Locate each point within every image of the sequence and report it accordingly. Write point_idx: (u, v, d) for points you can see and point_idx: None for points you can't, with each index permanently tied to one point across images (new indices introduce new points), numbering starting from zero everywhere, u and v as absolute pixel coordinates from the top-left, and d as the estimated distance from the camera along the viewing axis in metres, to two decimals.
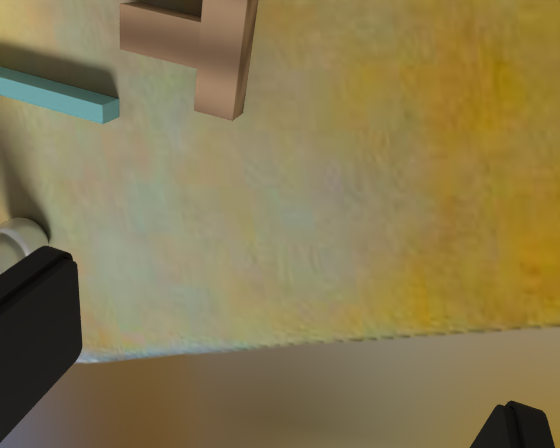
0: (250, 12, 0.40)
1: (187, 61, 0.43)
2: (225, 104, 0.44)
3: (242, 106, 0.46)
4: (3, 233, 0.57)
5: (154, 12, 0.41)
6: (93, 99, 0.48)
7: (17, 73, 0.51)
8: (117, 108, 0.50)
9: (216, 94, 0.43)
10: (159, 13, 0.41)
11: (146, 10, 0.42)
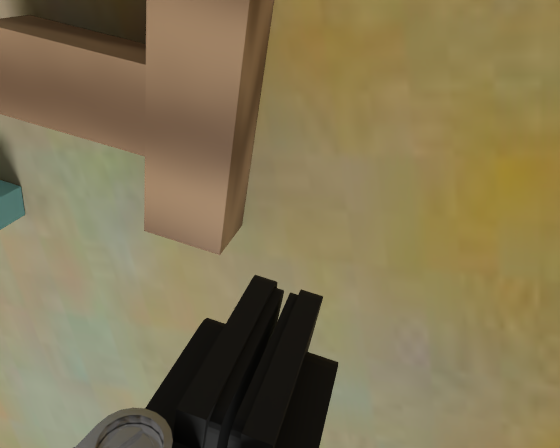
0: (255, 42, 0.18)
1: (124, 142, 0.20)
2: (205, 225, 0.21)
3: (240, 216, 0.24)
4: None
5: (48, 41, 0.19)
6: None
7: None
8: (19, 202, 0.28)
9: (185, 206, 0.21)
10: (58, 43, 0.19)
11: (31, 37, 0.19)
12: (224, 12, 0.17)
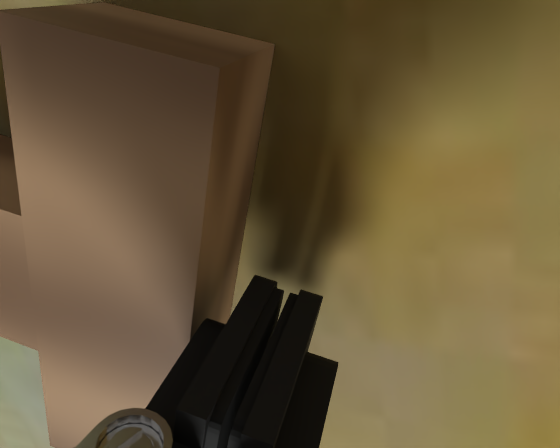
0: (230, 180, 0.09)
1: (3, 326, 0.12)
2: None
3: None
4: None
5: None
6: None
7: None
8: None
9: None
10: None
11: None
12: (162, 141, 0.08)
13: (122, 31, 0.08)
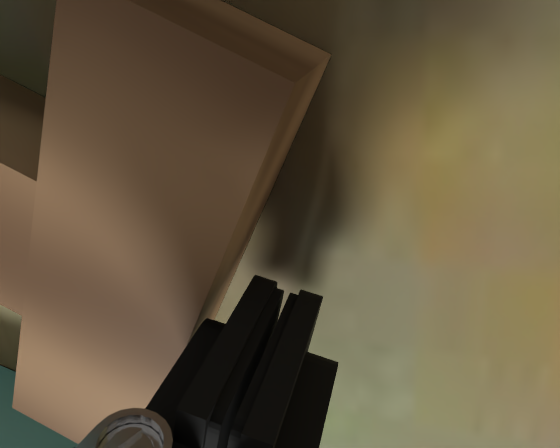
0: (263, 185, 0.09)
1: None
2: None
3: None
4: None
5: None
6: None
7: None
8: None
9: (85, 401, 0.12)
10: None
11: None
12: (214, 141, 0.08)
13: (190, 16, 0.08)
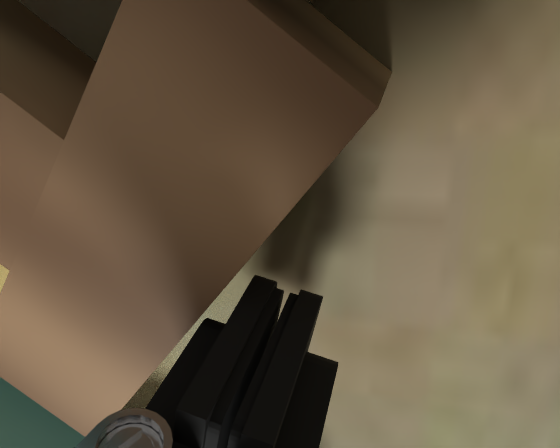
0: None
1: None
2: (84, 402, 0.12)
3: None
4: None
5: None
6: None
7: (3, 392, 0.17)
8: None
9: (60, 365, 0.12)
10: None
11: None
12: (274, 143, 0.07)
13: (275, 8, 0.07)
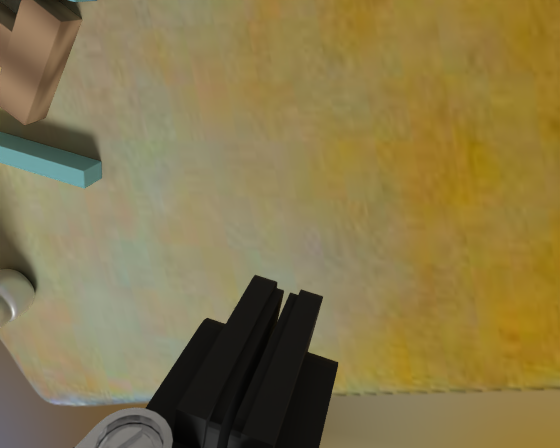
0: (61, 44, 0.43)
1: None
2: (21, 109, 0.46)
3: (44, 113, 0.49)
4: None
5: None
6: (75, 164, 0.49)
7: (0, 135, 0.51)
8: (99, 170, 0.50)
9: (14, 97, 0.46)
10: None
11: None
12: (47, 29, 0.41)
13: (46, 5, 0.41)
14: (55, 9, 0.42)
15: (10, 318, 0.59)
